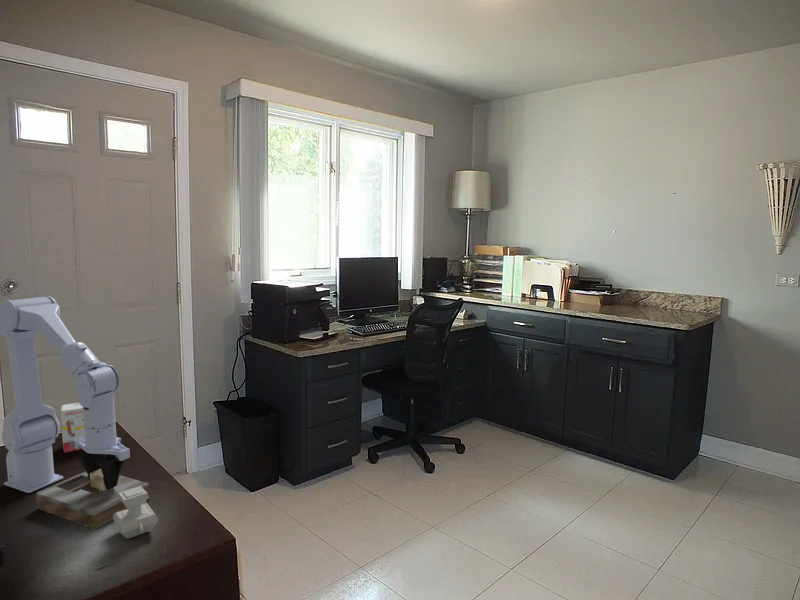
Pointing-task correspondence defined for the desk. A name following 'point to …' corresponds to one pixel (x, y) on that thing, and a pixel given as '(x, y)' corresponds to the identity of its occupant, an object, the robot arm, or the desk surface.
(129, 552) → the desk surface
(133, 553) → the desk surface
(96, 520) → the keyhole base
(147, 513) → the stamp
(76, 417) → the ink box
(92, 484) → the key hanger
